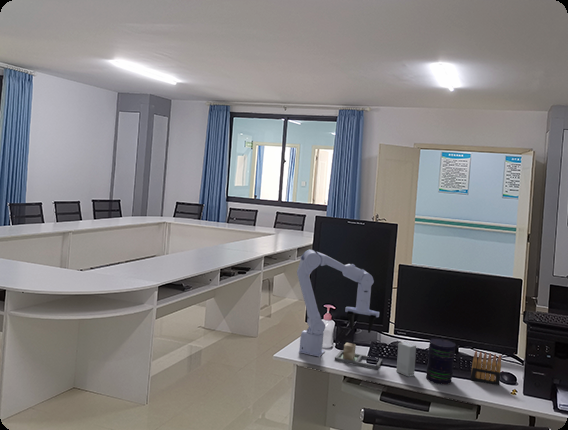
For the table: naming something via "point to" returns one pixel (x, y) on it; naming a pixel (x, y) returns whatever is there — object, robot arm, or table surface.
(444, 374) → the storage jar
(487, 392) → the table surface
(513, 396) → the table surface
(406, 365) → the skincare box
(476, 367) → the ammunition clip
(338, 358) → the slot holder
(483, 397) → the table surface
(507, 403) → the table surface
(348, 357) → the birch plug
